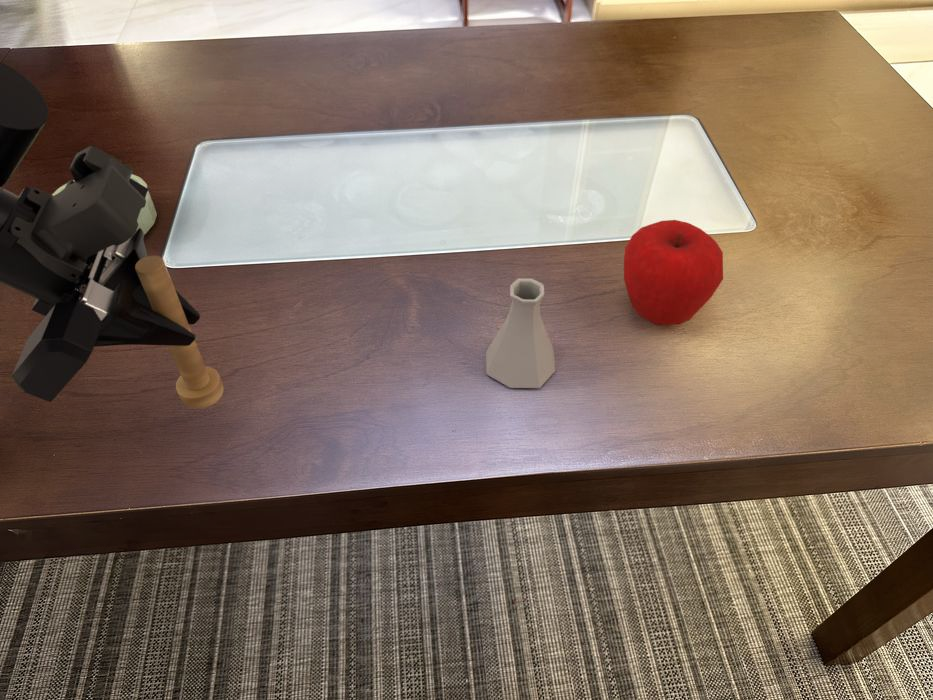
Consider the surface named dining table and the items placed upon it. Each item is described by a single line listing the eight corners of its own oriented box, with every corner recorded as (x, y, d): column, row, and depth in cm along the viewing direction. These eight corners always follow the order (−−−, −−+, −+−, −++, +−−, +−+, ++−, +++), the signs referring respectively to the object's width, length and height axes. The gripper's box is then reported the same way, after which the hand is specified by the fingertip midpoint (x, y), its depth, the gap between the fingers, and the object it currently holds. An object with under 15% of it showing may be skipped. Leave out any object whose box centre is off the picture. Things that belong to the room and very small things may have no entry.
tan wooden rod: (177, 410, 61) (117, 282, 50) (184, 378, 63) (128, 249, 53) (220, 407, 61) (170, 279, 50) (226, 375, 64) (179, 246, 53)
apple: (724, 325, 76) (755, 244, 68) (652, 357, 73) (675, 275, 65) (665, 271, 82) (687, 190, 74) (595, 297, 79) (611, 216, 71)
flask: (564, 347, 74) (575, 273, 66) (546, 399, 69) (556, 325, 62) (496, 330, 75) (500, 256, 68) (474, 380, 71) (476, 306, 63)
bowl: (47, 258, 83) (32, 230, 80) (74, 201, 90) (61, 173, 87) (148, 253, 83) (136, 225, 80) (165, 196, 91) (156, 169, 88)
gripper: (-23, 241, 38) (238, 366, 47) (73, 73, 50) (265, 196, 59) (-96, 352, 43) (152, 446, 52) (8, 175, 56) (193, 274, 64)
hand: (195, 330), depth 57 cm, fingers closed on tan wooden rod, 2 cm apart
